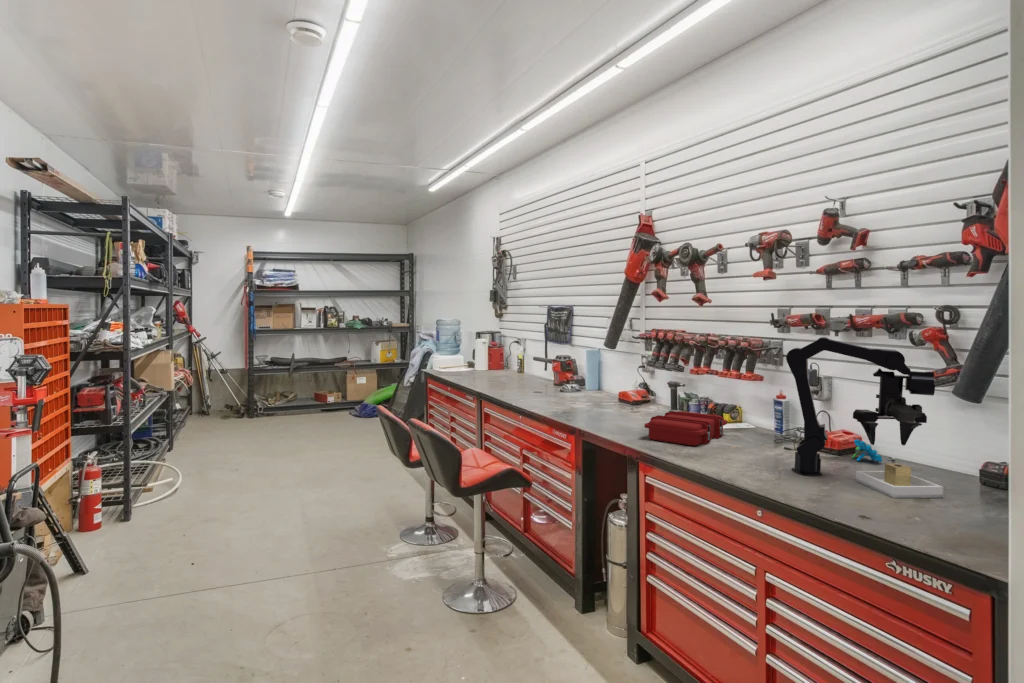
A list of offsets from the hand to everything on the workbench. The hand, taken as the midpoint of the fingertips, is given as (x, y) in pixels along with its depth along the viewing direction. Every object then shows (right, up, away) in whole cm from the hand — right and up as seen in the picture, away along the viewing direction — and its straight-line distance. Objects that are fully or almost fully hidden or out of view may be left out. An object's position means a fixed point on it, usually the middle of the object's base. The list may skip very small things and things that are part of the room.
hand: (887, 444), depth 172 cm
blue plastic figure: (+10, -11, +27) cm, 30 cm away
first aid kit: (-41, -8, +62) cm, 75 cm away
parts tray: (-1, -12, -5) cm, 13 cm away
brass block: (-1, -11, -5) cm, 12 cm away
